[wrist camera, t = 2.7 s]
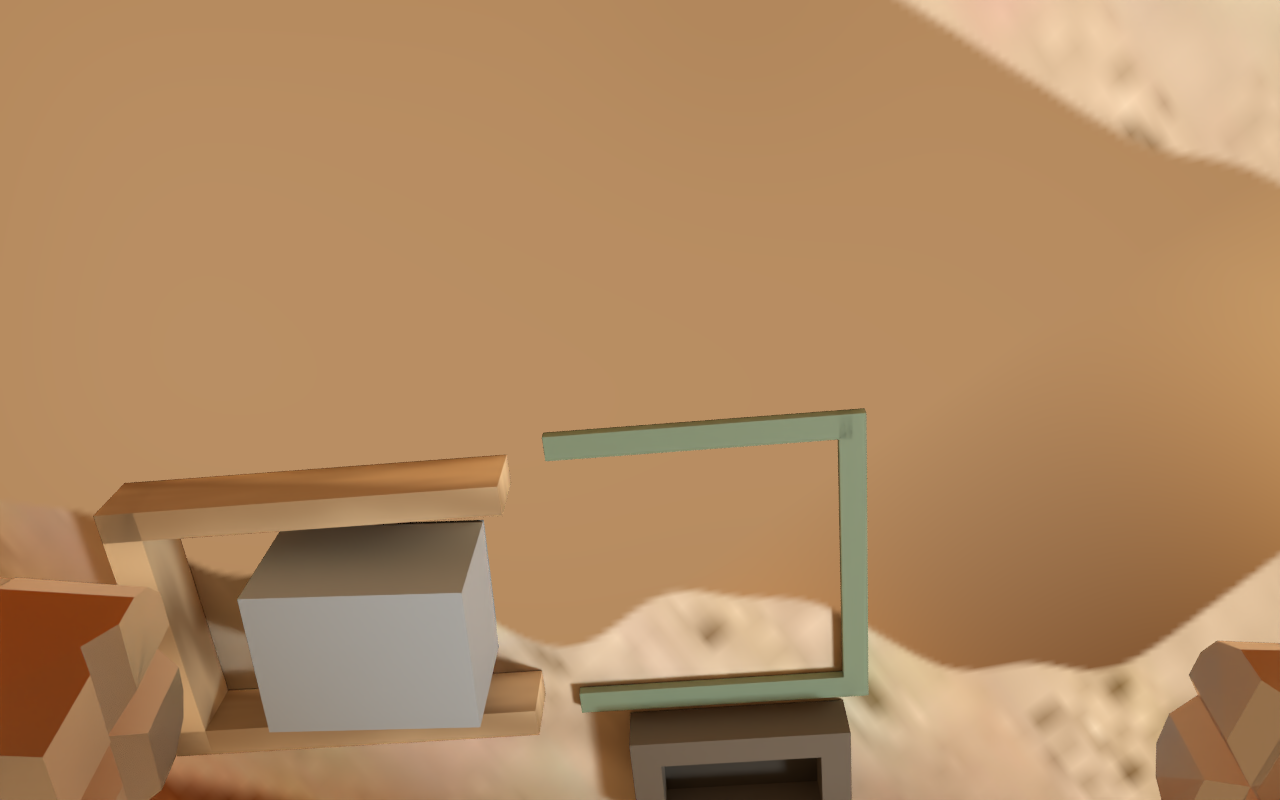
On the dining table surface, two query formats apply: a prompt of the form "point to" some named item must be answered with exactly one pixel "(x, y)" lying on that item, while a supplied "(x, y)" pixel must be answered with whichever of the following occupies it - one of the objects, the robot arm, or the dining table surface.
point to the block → (373, 627)
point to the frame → (852, 549)
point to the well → (743, 753)
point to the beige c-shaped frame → (284, 501)
